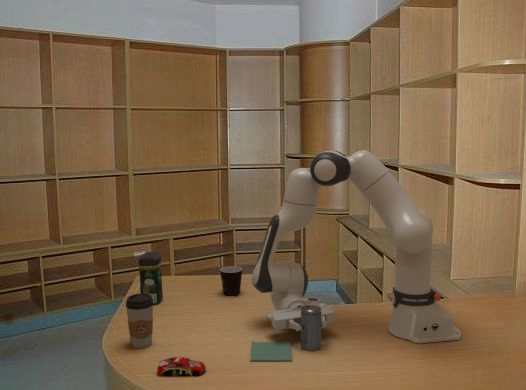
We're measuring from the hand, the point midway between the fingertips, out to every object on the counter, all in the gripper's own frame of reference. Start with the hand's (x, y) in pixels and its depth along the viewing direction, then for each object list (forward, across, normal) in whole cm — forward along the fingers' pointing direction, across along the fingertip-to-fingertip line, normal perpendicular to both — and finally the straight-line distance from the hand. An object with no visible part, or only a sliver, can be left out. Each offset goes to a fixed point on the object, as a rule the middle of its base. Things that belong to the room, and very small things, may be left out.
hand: (312, 326), depth 164 cm
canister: (-1, 0, +7) cm, 7 cm away
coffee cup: (-19, -49, +7) cm, 53 cm away
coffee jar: (-57, -42, +7) cm, 71 cm away
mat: (-1, -13, +7) cm, 14 cm away
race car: (+3, -40, +7) cm, 41 cm away
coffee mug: (-56, -10, +7) cm, 57 cm away
